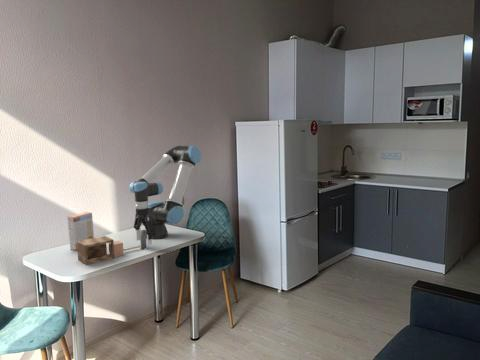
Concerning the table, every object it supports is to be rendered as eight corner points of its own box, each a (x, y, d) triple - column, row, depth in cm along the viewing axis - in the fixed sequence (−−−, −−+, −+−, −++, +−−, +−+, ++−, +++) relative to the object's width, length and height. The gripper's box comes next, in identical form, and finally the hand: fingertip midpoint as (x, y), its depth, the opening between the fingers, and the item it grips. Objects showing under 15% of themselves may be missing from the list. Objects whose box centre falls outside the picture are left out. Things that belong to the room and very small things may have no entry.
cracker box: (88, 243, 267) (86, 211, 264) (94, 244, 264) (92, 212, 261) (69, 249, 255) (66, 215, 252) (76, 251, 252) (73, 216, 249)
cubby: (106, 253, 245) (104, 235, 244) (114, 258, 237) (113, 239, 235) (78, 260, 235) (76, 241, 233) (86, 264, 226) (84, 245, 225)
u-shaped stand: (143, 246, 258) (143, 229, 257) (148, 248, 254) (147, 230, 252) (109, 254, 244) (108, 236, 242) (113, 256, 239) (112, 238, 238)
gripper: (126, 205, 259) (128, 239, 262) (146, 211, 240) (148, 247, 243) (137, 204, 263) (139, 236, 266) (158, 209, 245) (160, 245, 248)
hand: (144, 242), depth 255 cm, fingers open, 13 cm apart
